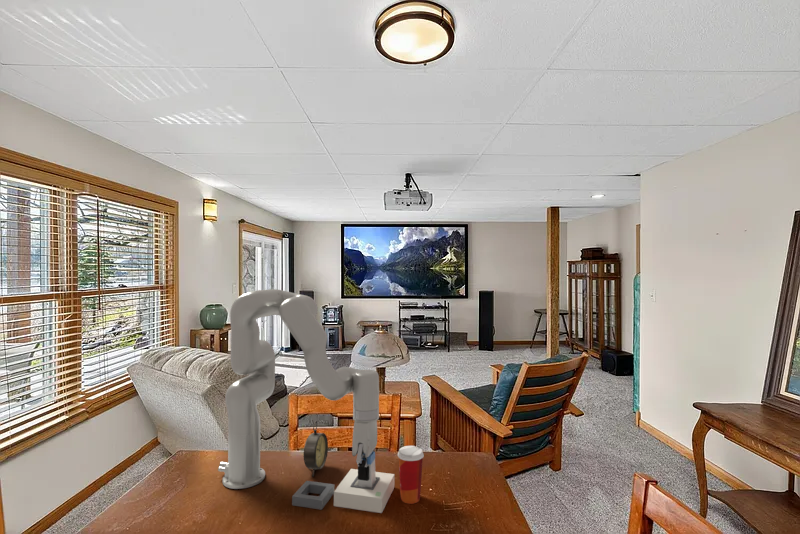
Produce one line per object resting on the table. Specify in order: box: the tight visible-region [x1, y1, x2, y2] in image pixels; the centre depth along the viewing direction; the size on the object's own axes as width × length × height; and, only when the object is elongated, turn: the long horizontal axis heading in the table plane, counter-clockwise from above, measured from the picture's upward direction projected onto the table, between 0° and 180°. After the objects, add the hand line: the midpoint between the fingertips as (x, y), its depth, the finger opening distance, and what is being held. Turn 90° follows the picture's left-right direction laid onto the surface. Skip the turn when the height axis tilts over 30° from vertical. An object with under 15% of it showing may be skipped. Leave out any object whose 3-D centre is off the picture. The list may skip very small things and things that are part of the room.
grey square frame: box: [291, 480, 335, 511], centre depth 122 cm, size 9×9×2 cm
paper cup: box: [396, 445, 425, 505], centre depth 123 cm, size 8×8×14 cm
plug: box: [356, 450, 376, 488], centre depth 124 cm, size 4×4×10 cm
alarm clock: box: [303, 420, 329, 478], centre depth 139 cm, size 11×5×16 cm, turn 168°
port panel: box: [333, 468, 395, 514], centre depth 124 cm, size 14×14×4 cm
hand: (366, 475), depth 124 cm, fingers closed on plug, 4 cm apart
